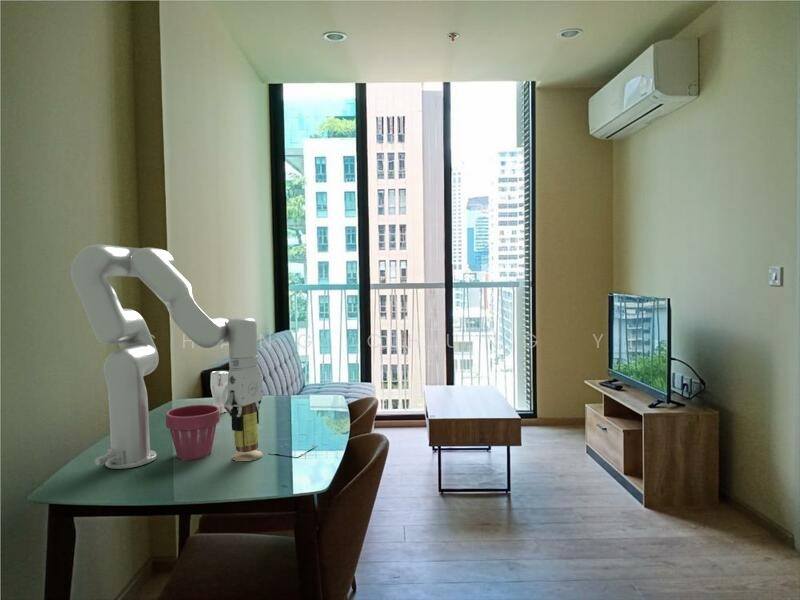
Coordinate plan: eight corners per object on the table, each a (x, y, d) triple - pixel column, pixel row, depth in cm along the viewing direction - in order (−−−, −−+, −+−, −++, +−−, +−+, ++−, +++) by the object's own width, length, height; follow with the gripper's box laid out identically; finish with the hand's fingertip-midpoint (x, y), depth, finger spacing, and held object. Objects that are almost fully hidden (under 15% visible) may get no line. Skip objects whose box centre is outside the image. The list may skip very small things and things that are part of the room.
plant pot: (231, 449, 153) (229, 405, 153) (197, 465, 140) (195, 418, 139) (192, 444, 158) (190, 402, 157) (155, 460, 145) (153, 414, 144)
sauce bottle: (260, 445, 149) (259, 376, 148) (255, 452, 143) (253, 380, 142) (237, 446, 149) (235, 376, 148) (231, 453, 142) (229, 380, 142)
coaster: (250, 463, 141) (249, 461, 141) (226, 460, 144) (226, 458, 144) (268, 454, 148) (268, 451, 148) (245, 451, 151) (245, 449, 151)
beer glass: (210, 410, 198) (209, 371, 198) (229, 408, 201) (228, 369, 201) (212, 415, 192) (210, 374, 191) (232, 412, 195) (230, 372, 194)
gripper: (233, 368, 135) (235, 437, 136) (273, 358, 151) (275, 420, 152) (210, 367, 138) (212, 434, 139) (252, 357, 154) (254, 417, 155)
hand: (245, 426), depth 145 cm, fingers closed on sauce bottle, 6 cm apart
